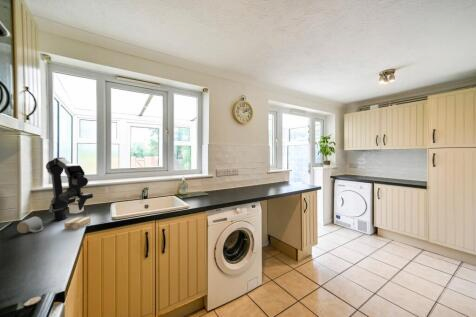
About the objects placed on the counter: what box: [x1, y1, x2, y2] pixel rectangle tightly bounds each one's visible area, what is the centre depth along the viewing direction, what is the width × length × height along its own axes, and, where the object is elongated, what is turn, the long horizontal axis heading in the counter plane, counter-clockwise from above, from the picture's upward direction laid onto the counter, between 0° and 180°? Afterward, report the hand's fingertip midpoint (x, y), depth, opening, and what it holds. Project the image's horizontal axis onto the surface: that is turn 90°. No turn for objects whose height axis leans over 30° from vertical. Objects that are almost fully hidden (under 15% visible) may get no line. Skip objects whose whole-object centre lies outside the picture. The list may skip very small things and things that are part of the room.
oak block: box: [63, 216, 92, 230], centre depth 122 cm, size 9×9×4 cm
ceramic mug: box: [16, 216, 44, 234], centre depth 116 cm, size 11×8×8 cm
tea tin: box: [68, 200, 85, 214], centre depth 122 cm, size 5×5×6 cm
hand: (76, 210), depth 122 cm, fingers closed on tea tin, 5 cm apart
